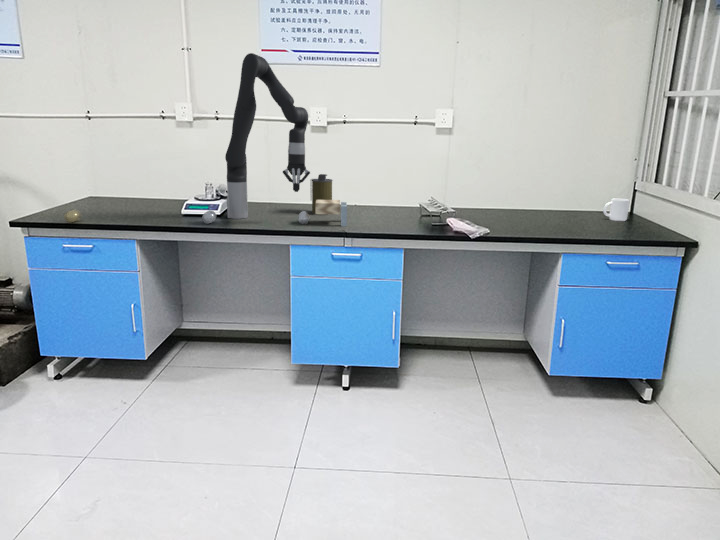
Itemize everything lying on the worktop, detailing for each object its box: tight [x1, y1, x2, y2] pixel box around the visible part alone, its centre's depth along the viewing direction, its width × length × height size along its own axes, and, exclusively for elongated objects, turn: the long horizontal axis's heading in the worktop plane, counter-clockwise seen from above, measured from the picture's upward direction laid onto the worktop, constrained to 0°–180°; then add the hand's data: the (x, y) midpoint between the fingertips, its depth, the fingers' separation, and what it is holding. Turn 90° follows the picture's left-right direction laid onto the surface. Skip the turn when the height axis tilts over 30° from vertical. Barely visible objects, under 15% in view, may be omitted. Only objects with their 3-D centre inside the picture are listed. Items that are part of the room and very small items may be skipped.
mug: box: [602, 197, 630, 222], centre depth 279 cm, size 12×8×10 cm
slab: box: [315, 199, 341, 216], centre depth 256 cm, size 11×12×5 cm
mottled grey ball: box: [297, 210, 311, 225], centre depth 257 cm, size 5×6×5 cm
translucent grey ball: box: [201, 210, 217, 224], centre depth 255 cm, size 5×6×5 cm
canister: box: [311, 173, 334, 216], centre depth 280 cm, size 11×10×20 cm
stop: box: [340, 201, 348, 227], centre depth 257 cm, size 2×14×9 cm, turn 3°
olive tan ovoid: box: [63, 209, 82, 224], centre depth 252 cm, size 5×6×5 cm
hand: (296, 191), depth 255 cm, fingers closed
